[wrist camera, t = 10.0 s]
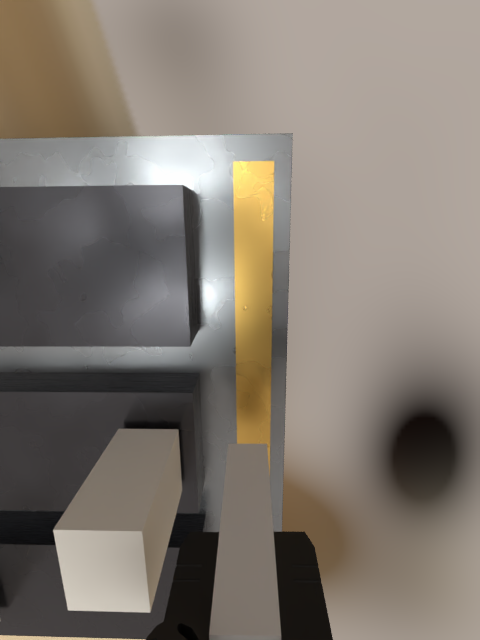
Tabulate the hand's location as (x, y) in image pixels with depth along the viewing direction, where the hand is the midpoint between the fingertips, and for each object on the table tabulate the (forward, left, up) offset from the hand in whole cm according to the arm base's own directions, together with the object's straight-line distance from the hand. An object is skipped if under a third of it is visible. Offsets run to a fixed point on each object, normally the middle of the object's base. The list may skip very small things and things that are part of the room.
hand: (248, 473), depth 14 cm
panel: (0, -9, -6) cm, 11 cm away
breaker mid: (0, -4, -1) cm, 4 cm away
